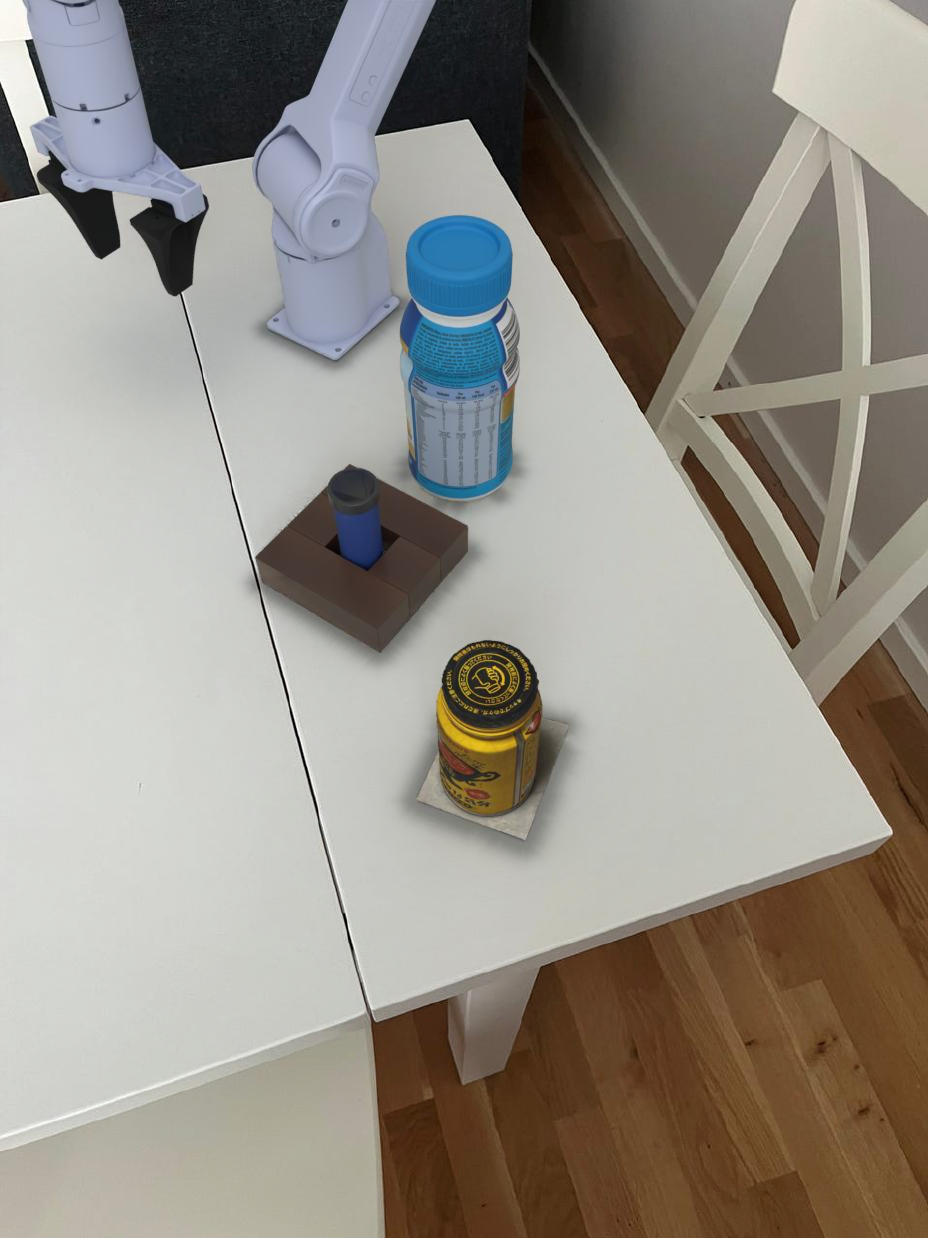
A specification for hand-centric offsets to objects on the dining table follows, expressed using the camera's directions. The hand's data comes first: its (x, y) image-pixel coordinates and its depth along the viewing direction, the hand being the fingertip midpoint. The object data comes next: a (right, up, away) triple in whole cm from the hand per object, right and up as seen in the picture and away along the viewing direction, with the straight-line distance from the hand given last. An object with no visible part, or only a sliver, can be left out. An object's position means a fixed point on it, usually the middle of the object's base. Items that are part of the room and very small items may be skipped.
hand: (143, 270), depth 75 cm
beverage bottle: (+24, -15, +3) cm, 28 cm away
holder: (+17, -23, -3) cm, 29 cm away
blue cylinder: (+17, -23, -3) cm, 29 cm away
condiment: (+26, -36, -12) cm, 46 cm away
